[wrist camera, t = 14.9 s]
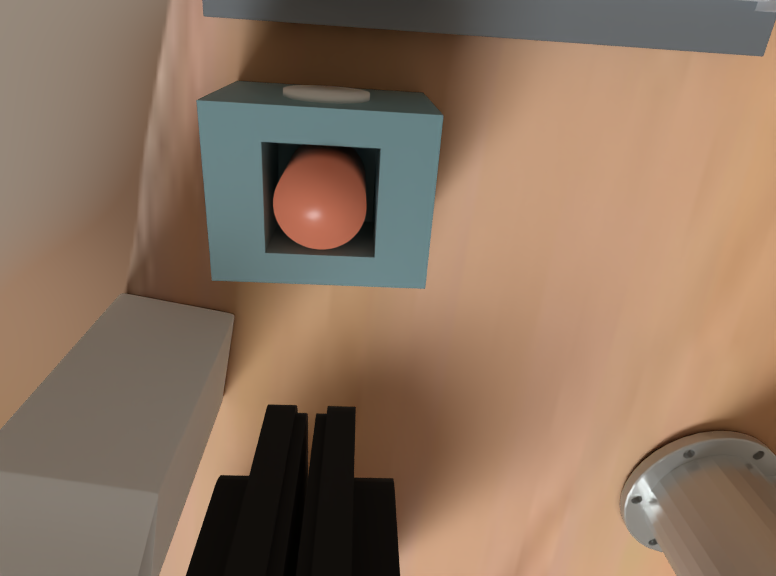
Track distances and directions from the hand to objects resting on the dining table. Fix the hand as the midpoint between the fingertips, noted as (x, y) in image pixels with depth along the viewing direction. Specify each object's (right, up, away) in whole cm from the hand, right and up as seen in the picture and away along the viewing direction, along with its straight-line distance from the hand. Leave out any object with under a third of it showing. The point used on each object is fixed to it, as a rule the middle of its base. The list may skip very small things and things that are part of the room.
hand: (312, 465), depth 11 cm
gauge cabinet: (-2, +11, +20) cm, 23 cm away
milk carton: (-13, 0, +26) cm, 29 cm away
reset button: (-2, +9, +17) cm, 20 cm away
